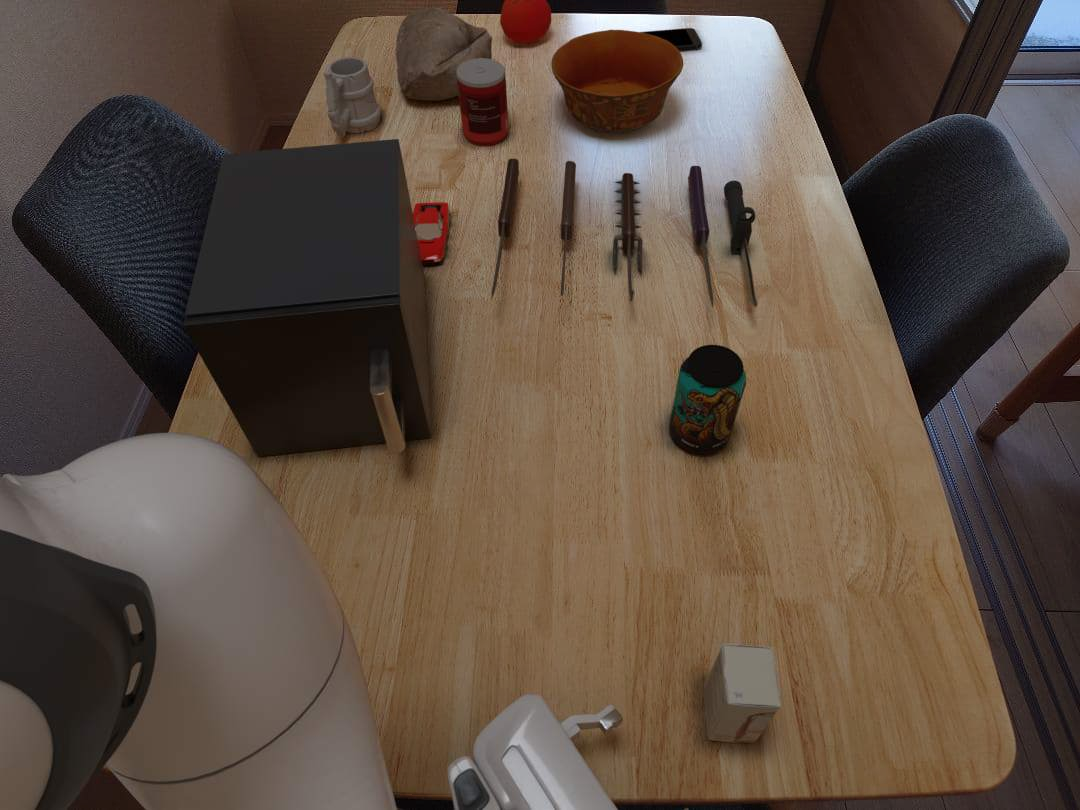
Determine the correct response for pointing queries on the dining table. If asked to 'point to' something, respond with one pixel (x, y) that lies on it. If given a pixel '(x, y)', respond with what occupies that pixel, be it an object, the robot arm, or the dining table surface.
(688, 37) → the smartphone
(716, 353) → the beverage can
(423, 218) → the toy car
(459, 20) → the rock
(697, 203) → the knife set
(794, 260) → the dining table surface
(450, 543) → the dining table surface
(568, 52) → the bowl
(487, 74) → the canned food
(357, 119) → the mug
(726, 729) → the white carton box
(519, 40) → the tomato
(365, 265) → the cupboard
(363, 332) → the cupboard door
